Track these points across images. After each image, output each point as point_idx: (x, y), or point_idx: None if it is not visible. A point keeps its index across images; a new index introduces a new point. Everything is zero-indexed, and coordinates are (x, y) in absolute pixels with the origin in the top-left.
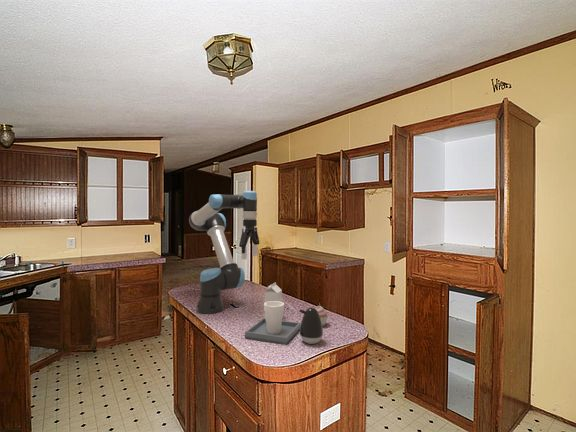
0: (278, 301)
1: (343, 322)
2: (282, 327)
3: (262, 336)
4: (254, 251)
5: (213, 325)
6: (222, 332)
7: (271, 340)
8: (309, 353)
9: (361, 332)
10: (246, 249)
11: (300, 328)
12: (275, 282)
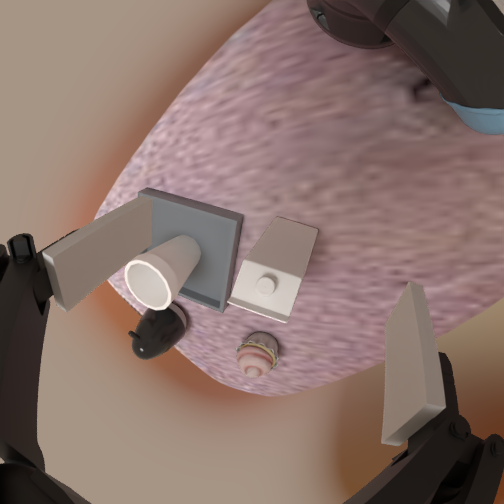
0: (169, 298)
1: (285, 381)
2: (213, 269)
3: None
4: (401, 339)
5: (205, 72)
6: (165, 120)
7: None
8: (135, 301)
9: (237, 388)
10: (81, 294)
11: (150, 310)
12: (280, 321)
